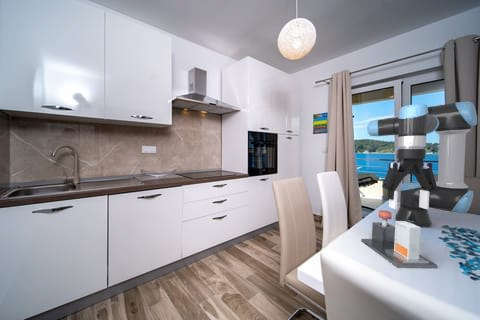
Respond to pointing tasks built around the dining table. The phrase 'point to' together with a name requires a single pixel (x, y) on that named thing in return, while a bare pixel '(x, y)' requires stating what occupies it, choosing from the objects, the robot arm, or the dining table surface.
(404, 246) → the skincare box
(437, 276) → the dining table surface
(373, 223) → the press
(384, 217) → the plunger
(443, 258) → the dining table surface
